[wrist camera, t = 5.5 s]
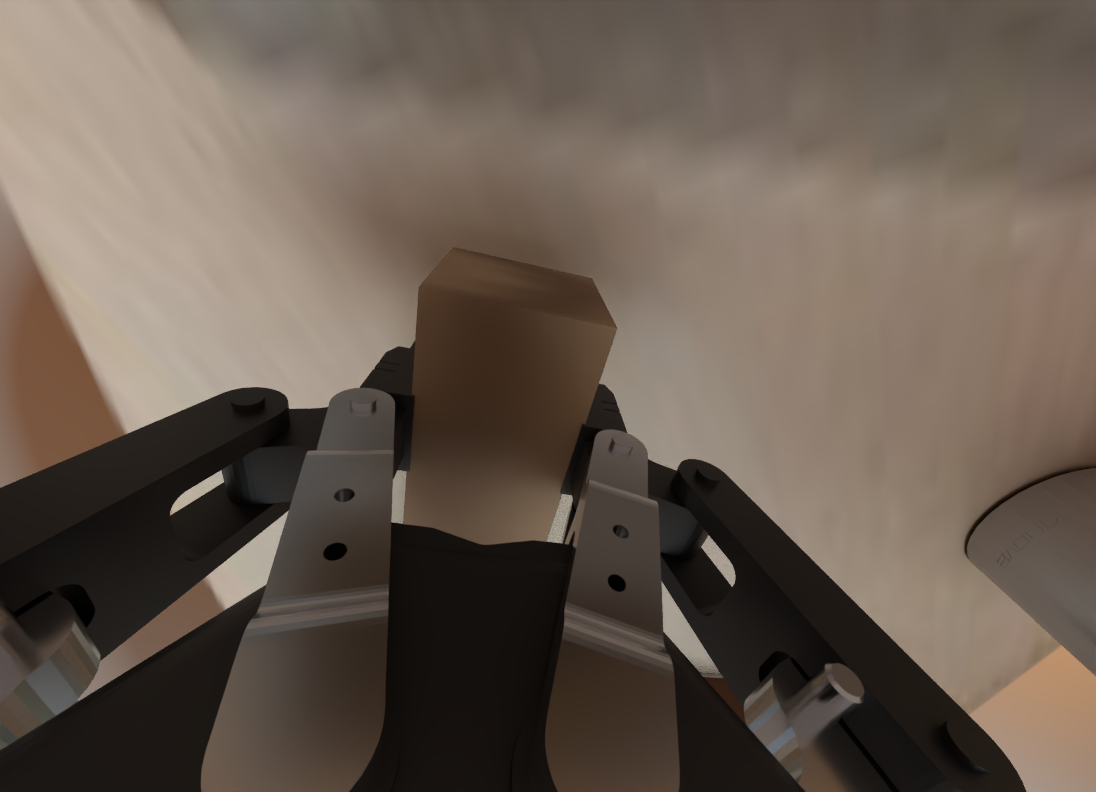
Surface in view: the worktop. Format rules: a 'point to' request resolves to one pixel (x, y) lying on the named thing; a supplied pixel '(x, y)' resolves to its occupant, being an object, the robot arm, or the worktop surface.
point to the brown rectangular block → (500, 394)
